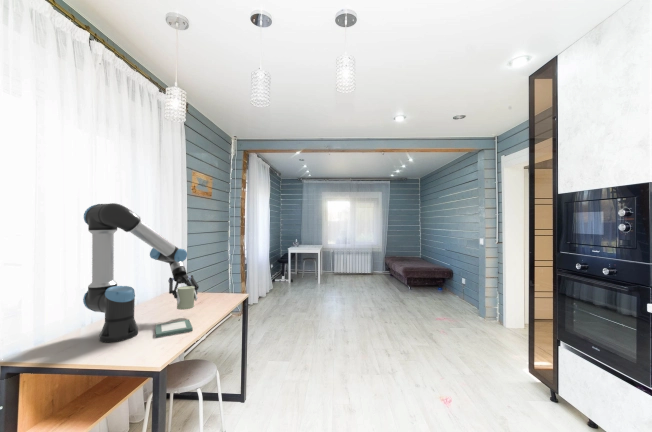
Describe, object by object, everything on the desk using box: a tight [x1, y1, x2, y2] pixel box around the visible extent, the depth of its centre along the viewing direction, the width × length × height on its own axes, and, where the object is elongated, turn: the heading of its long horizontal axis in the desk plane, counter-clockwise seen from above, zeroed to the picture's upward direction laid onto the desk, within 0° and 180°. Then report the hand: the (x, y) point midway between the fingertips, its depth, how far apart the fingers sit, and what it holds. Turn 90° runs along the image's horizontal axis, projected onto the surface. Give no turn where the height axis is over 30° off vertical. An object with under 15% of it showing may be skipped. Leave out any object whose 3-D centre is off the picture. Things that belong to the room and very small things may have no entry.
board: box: [154, 319, 193, 338], centre depth 148 cm, size 16×16×2 cm
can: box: [176, 285, 195, 310], centre depth 168 cm, size 9×9×12 cm
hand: (187, 300), depth 165 cm, fingers closed on can, 9 cm apart
